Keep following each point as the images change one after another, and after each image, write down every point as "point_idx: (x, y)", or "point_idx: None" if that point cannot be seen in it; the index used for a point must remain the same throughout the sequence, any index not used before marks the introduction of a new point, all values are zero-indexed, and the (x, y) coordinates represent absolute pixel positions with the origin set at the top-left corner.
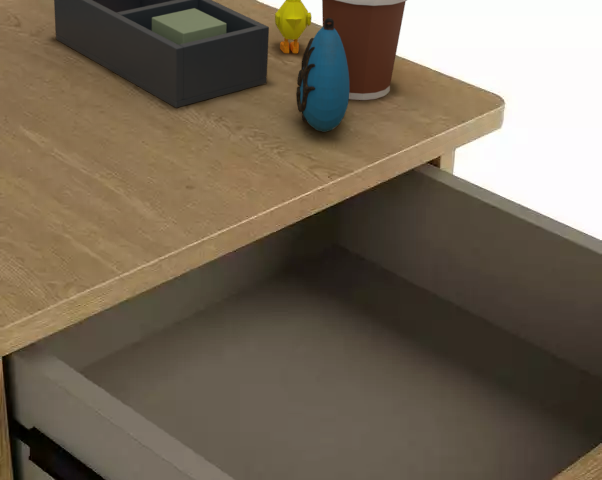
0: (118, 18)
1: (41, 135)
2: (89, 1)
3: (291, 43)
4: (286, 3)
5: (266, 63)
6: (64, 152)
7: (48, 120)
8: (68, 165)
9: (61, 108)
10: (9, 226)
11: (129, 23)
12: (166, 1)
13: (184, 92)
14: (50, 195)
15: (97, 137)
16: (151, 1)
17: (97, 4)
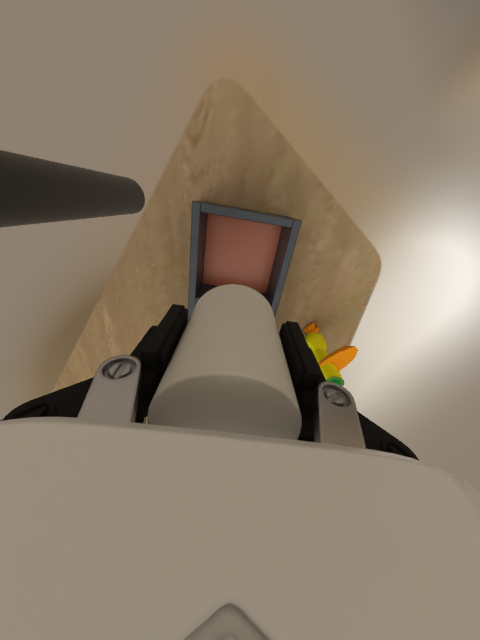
0: (188, 308)
1: (111, 322)
2: (192, 264)
3: (312, 331)
4: (312, 350)
5: None
6: (114, 342)
7: (123, 311)
8: (109, 352)
9: (138, 303)
10: (63, 372)
11: (188, 320)
12: (277, 267)
13: None
14: (89, 365)
15: (137, 340)
16: (282, 243)
17: (193, 274)
